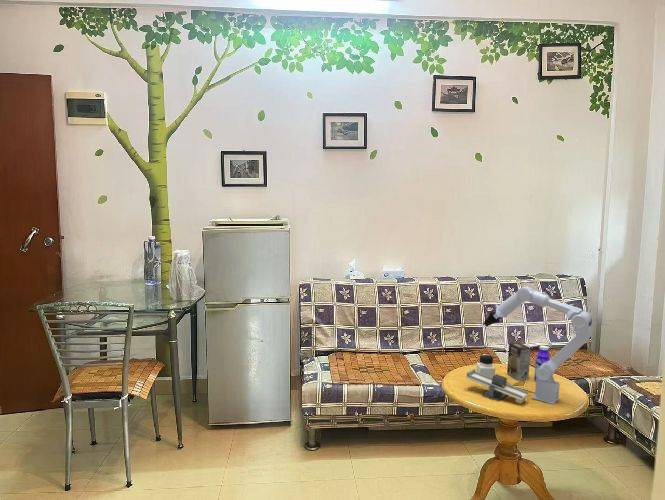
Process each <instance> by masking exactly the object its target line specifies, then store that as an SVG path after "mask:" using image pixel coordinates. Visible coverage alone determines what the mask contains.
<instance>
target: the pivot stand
mask: <svg viewBox="0 0 665 500" xmlns="http://www.w3.org/2000/svg"><path fill="white" fill-rule="evenodd" d="M481 396H482V397H484V398H487V399H491V400H494V401H498V402H500V401H502V400H504V399H505V398H506V397H507V394H504V393H502V392H499V391H497V390H494V387H493V386H489V387H488V390H486V391H485V392H484V393H482V395H481Z"/></svg>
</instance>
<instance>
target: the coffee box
mask: <svg viewBox="0 0 665 500" xmlns="http://www.w3.org/2000/svg"><path fill="white" fill-rule="evenodd" d="M531 351H532V348H531V347H530V346H528V345H527V344H524V343H522V342H519V341H518V342H509V343H508V355H507V356H508V357H507V368H506V371H507V372H506V374H507V375H508V376H510V377H511V378H513V379H515V380H517V381H526V380H529V374H530V363H531V355H532V354H531V353H532V352H531Z"/></svg>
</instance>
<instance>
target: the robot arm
mask: <svg viewBox="0 0 665 500" xmlns="http://www.w3.org/2000/svg"><path fill="white" fill-rule="evenodd" d="M524 302H529V303H530V304H533V305H536V306H538V307H541V308H546V307H549V308H552V309H554V310H556V311H558V312H561V313H564V314H565V315H566V318H567V319H568V320H570V322H571V326H572V328H573V329H574V332H575V333H574V334H575V336H574V337H573V338H571V340H570V341H568V342H567V344H565V345H564V346H563V347H562V348H561V349H560V350H559V351H558V352H557V353H556V354H555V355H553V357H552V358H549V359H550V360H549V361H547V362H544V363H543V364H542V365H541V366H540V367H539V368H537V370H536V376H537V377H536V380H535V391H534V395H532V396H531V399H533V400H537V401H539V402H544V403H548V404H550V405H554V404H555V403H556V402H557V401H559V399H560V398H559V397H560V382H559V381H556V380H555V378H554V376H553V375H555V374H556V370H557V369H558V368H560V366H562V364H564V363H565V362H566V361H567V360H568V359H569V358H571V356H573V355H574V354H575V353H576V352H577V351H578V350H579V349H580V348H581V347H582V346H584V345H585V344H586V343H587V342H588V341H589V340H590V339H591V338H590V337H591V332H592V327H593V322H594V321H593V318H592V315H591V314H590V312H588V311H586V310H583V309H582V308H580V307H577V306H573V305H571V304H567V303H563V302H561V301H558V300H554V299H552V298H551V297H550V295H549V294H547V293H546V292H545V291H542V292H540V291H537V290H535V289H534V288H531V287H530V286H523V287H520V288H518V290H517V291H516V292H514V294H512V295H510V296H509V297H507V299H506V300H504V301H503V302H502V303H500V304H495V305H494V307H495V308H496V309H495V310H494V311H493V310H492V311H490V313H489V316H488V317H487V318H486V319H485V321H484V322H483V325H484V326H485V327H489V326H491V325H493V324H496V323H500V322H501V320H500V319H501V318H502V319H503V318H507V316H509V315H510V314H511V313H512V312H515V310H516V309H517V308H519V307H520V306H521V305H522V304H524Z"/></svg>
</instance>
